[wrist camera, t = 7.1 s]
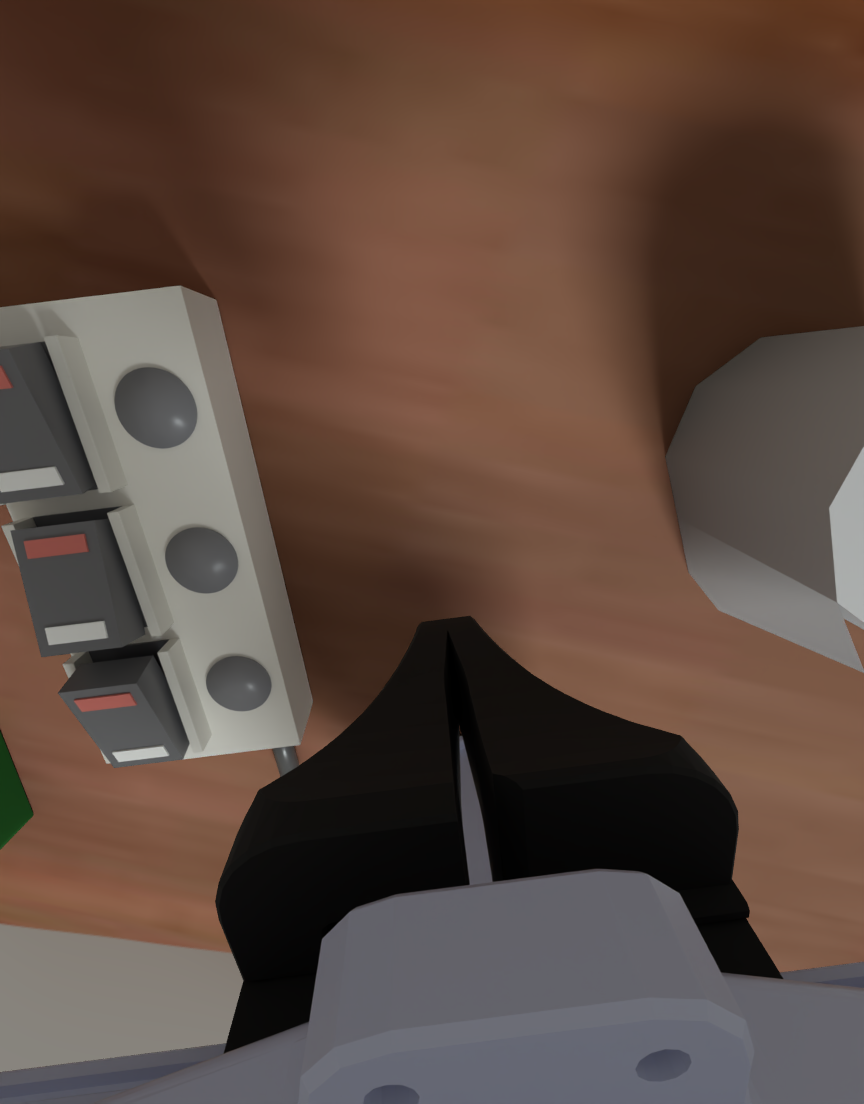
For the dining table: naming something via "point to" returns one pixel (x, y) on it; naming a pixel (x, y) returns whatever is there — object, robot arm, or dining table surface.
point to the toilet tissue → (779, 487)
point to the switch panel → (176, 509)
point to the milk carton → (11, 798)
